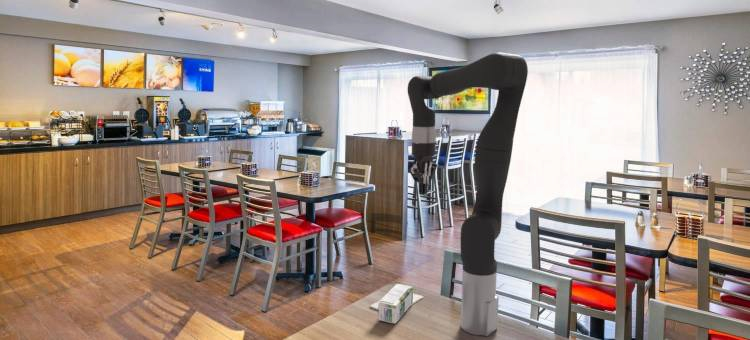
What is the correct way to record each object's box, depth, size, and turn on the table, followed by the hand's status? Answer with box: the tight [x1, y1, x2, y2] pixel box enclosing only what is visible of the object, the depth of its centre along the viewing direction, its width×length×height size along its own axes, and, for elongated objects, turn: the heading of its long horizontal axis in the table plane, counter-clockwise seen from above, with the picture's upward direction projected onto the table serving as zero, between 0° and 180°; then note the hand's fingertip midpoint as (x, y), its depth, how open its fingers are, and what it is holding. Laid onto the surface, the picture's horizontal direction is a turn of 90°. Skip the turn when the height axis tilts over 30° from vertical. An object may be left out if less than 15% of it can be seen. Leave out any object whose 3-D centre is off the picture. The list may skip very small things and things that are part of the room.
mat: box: [369, 292, 425, 311], centre depth 148 cm, size 9×16×1 cm, turn 140°
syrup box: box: [377, 283, 414, 324], centre depth 141 cm, size 6×6×14 cm
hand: (423, 194), depth 151 cm, fingers closed
